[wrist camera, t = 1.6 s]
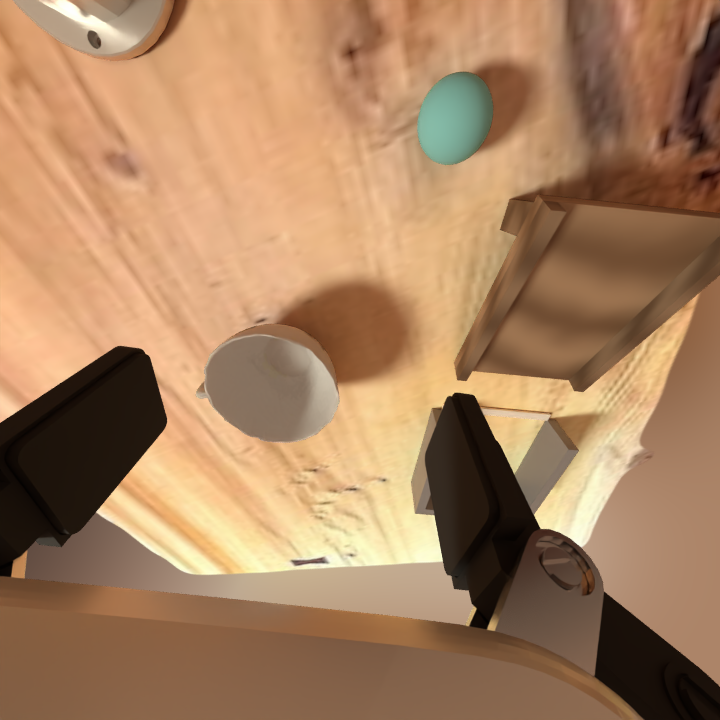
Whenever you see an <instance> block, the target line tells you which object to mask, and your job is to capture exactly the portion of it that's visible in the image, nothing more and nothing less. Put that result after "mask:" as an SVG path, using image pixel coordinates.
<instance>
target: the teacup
mask: <svg viewBox="0 0 720 720" xmlns="http://www.w3.org/2000/svg"><path fill="white" fill-rule="evenodd" d="M204 374H205V381H204V382H203V383H202V384H201V385H200V387H199V388H198V389H197V391H196V397H198V398H200V399H203V398H208V399H209V402H210V404H211V405H212V407H213V408H214V410H216V411H217V412H218V413H219V414H220V415H221V416H222V417H223V418H224V419H225V421H227V422H229V423H230V424H232V425H233V426H235V427H236V428H238V429H239V430H240V431H241V432H242V433H244V434H246V435H248V436H251V437H256V438H259V439H260V440H262V441H267V442H280V443H290V442H297V441H301V440H305V439H307V438H309V437H311V436H313V435H316V434H317V433H318V432H319V431H320V430H321V429H323V428H324V427H325V426H326V425H327V424H328V423H329V422H331V420H332V419H333V416H334V413H335V412H336V410H337V407H338V404H339V402H340V401H339V392H338V387H337V378H336V373H335V370H334V366H333V364H332V361H331V359H330V357H329V355H328V354H327V352H326V351H325V349H324V348H323V346H322V345H321V344H320V343H319V342H318V341H317V340H316V339H315V338H313V337H312V336H311V335H309V334H308V333H306V332H304V331H302V330H300V329H298V328H295V327H292V326H288V325H282V324H264V325H259V326H254V327H251V328H248V329H246V330H243V331H241V332H239V333H237V334H235V335H233V336H232V337H230V338H229V339H227V340H226V341H224V342H223V343H222V344H221V345H220V346H218V347H217V348H216V349H215V350H214V351H213V352H212V353H211V354H210V357H209V359H208V362H207V364H206V366H205V369H204Z"/></svg>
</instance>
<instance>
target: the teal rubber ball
mask: <svg viewBox="0 0 720 720" xmlns="http://www.w3.org/2000/svg"><path fill="white" fill-rule="evenodd" d="M492 118H493V102H492V97H491V93H490V91H489V89H488V87H487V85H486V84H485V82H484V81H483V80H482V79H481V78H480V77H478V76H477V75H475V74H472V73H469V72H456V73H453V74H450V75H448V76H446V77H444V78H442V79H441V80H440V81H439V82H437V83H436V84H435V85H434V86H433V87H432V89H431V90H430V91H429V93H428V94H427V96H426V97H425V99H424V101H423V104H422V106H421V109H420V112H419V117H418V138H419V142H420V144H421V147H422V149H423V151H424V152H425V154H426V155H427V156H428V157H429V158H430V159H432V160H433V161H435V162H437V163H439V164H444V165H452V164H457V163H460V162H462V161H464V160H466V159H468V158H469V157H470V156H472V155H473V154H474V153H475V152H476V151H477V150H478V149H479V148H480V146H481V145H482V143H483V142H484V140H485V138H486V137H487V135H488V132H489V130H490V127H491V123H492Z"/></svg>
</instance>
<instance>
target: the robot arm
mask: <svg viewBox="0 0 720 720" xmlns="http://www.w3.org/2000/svg"><path fill="white" fill-rule="evenodd" d="M13 1H14V3H15V4H16V5H17V6H18V7H19V8H20V9H21V10H22V11H23V12H24V13H25V14H26V15H27V16H28V17H29V18H30V19H31V20H32V21H33V22H34V23H35V24H36V25H38V26H39V27H40V28H41V29H43V30H44V31H45V32H47V33H48V34H49V35H51V36H52V37H54V38H55V39H56V40H58V41H59V42H61V43H63V44H65V45H67V46H69V47H71V48H73V49H75V50H77V51H79V52H82V53H84V54H87V55H89V56H92V57H94V58H98V59H104V60H110V61H118V60H128V59H131V58H133V57H136V56H138V55H141V54H143V53H144V52H145V51H147V50H148V49H149V48H150V47H151V46H152V45H154V44H155V43H156V41H157V40H158V38H159V37H160V35H161V34H162V33H163V31H164V30H165V28H166V25H167V23H168V20H169V18H170V15H171V12H172V10H173V5H174V0H13ZM166 424H167V417H166V413H165V410H164V406H163V402H162V399H161V395H160V392H159V388H158V384H157V381H156V377H155V374H154V370H153V366H152V363H151V359H150V357H149V356H148V355H147V354H145V352H144V351H143V350H142V349H139V348H132V347H125V346H117V347H115V348H113V349H112V350H110V351H109V352H107V353H106V354H104V355H103V356H101V357H100V358H98V359H97V360H95V361H94V362H92V363H91V364H89V365H88V366H86V367H85V368H83V369H82V370H80V371H79V372H77V373H75V374H74V375H72V376H71V377H69V378H68V379H66V380H65V381H63V382H62V383H60V384H59V385H57V386H56V387H54V388H53V389H51V390H50V391H48V392H47V393H45V394H44V395H42V396H41V397H39V398H37V399H36V400H34V401H33V402H31V403H30V404H28V405H27V406H25V407H24V408H22V409H21V410H19V411H18V412H16V413H15V414H13V415H12V416H10V417H9V418H7V419H6V420H4V421H2V422H1V423H0V720H720V687H719V686H718V684H716V683H715V682H714V681H713V680H712V679H711V678H710V677H709V676H708V675H707V674H706V673H704V672H703V671H702V670H701V669H700V668H699V667H698V666H696V665H695V664H694V663H693V662H691V661H690V660H689V659H688V658H686V657H685V656H684V655H683V654H681V653H680V652H679V651H678V650H676V649H675V648H674V647H673V646H671V645H670V644H669V643H668V642H666V641H665V640H664V639H663V638H661V637H660V636H659V635H658V634H656V633H655V632H654V631H653V630H651V629H650V628H649V627H648V626H646V625H645V624H644V623H643V622H641V621H640V620H639V619H638V618H636V617H635V616H634V615H633V614H631V613H630V612H629V611H628V610H626V609H625V608H624V607H623V606H622V605H620V604H619V603H618V602H616V601H615V600H614V599H613V598H612V597H610V596H609V595H607V593H605V592H604V588H603V581H602V578H601V576H600V573H599V571H598V569H597V567H596V566H595V564H594V563H593V561H592V560H591V558H590V557H589V556H588V555H587V554H586V552H585V551H584V550H583V549H582V548H581V547H580V546H579V545H577V544H576V543H575V542H574V541H572V540H571V539H570V538H568V537H566V536H564V535H563V534H561V533H559V532H556V531H553V530H550V529H540V527H539V525H538V523H537V521H536V519H535V516H534V514H533V512H532V510H531V508H530V506H529V504H528V502H527V500H526V498H525V496H524V494H523V492H522V489H521V487H520V485H519V483H518V481H517V479H516V477H515V475H514V473H513V471H512V469H511V467H510V464H509V462H508V460H507V458H506V456H505V454H504V452H503V450H502V448H501V446H500V444H499V443H498V441H496V440H495V438H494V436H493V434H492V431H491V429H490V427H489V425H488V423H487V421H486V419H485V417H484V414H483V412H482V410H481V408H480V406H479V404H478V402H477V400H476V398H475V396H474V395H470V394H463V393H454V394H453V396H448V397H447V399H446V401H445V403H444V406H443V409H442V411H441V414H440V416H439V419H438V421H437V424H436V427H435V429H434V432H433V434H432V437H431V439H430V442H429V444H428V447H427V450H426V453H425V467H426V472H427V477H428V483H429V488H430V493H431V499H432V504H433V510H434V515H435V520H436V526H437V531H438V537H439V542H440V547H441V553H442V558H443V563H444V568H445V571H446V573H447V575H451V576H452V581H453V586H454V589H459V590H469V593H470V598H471V602H472V604H473V605H474V607H473V609H472V611H471V613H470V616H469V618H468V620H467V622H466V624H465V625H459V624H451V623H443V622H436V621H428V620H420V619H412V618H404V617H396V616H388V615H379V614H369V613H361V612H351V611H342V610H332V609H323V608H313V607H304V606H294V605H285V604H276V603H266V602H257V601H246V600H236V599H227V598H217V597H208V596H198V595H187V594H178V593H167V592H158V591H148V590H137V589H128V588H118V587H107V586H97V585H86V584H76V583H66V582H55V581H45V580H35V579H25V578H24V577H25V567H26V557H27V549H28V548H29V547H30V546H31V545H32V544H33V543H34V542H35V541H36V542H37V543H38V544H39V545H47V546H56V547H57V546H58V547H62V546H63V545H64V543H65V542H66V541H67V540H68V539H69V538H70V536H71V535H72V534H75V533H77V532H79V531H80V530H81V529H82V528H83V527H84V526H85V525H86V523H87V522H88V521H89V520H90V518H91V517H92V516H93V515H94V514H95V513H96V511H97V510H98V509H99V508H100V507H101V505H102V504H103V503H104V502H105V500H106V499H107V498H108V497H109V496H110V494H111V493H112V492H113V491H114V490H115V488H116V487H117V486H118V485H119V484H120V482H121V481H122V480H123V479H124V478H125V476H126V475H127V474H128V473H129V471H130V470H131V469H132V468H133V467H134V465H135V464H136V463H137V462H138V461H139V459H140V458H141V457H142V456H143V455H144V453H145V452H146V451H147V450H148V449H149V447H150V446H151V445H152V444H153V442H154V441H155V440H156V439H157V438H158V436H159V435H160V434H161V433H162V432H163V430H164V429H165V427H166Z"/></svg>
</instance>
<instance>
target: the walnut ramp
mask: <svg viewBox="0 0 720 720" xmlns="http://www.w3.org/2000/svg"><path fill="white" fill-rule="evenodd" d="M500 230H502V231H505V232H508V233H510V234H513V235H515V236H517V237H516V239H515V241H514V243H513V245H512V247H511V249H510V251H509V253H508V255H507V257H506V259H505V261H504V263H503V265H502V267H501V269H500V271H499V273H498V275H497V277H496V279H495V281H494V283H493V285H492V287H491V289H490V291H489V293H488V295H487V297H486V299H485V301H484V303H483V305H482V307H481V309H480V311H479V313H478V315H477V317H476V319H475V321H474V324H473V326H472V328H471V330H470V332H469V334H468V336H467V338H466V340H465V342H464V344H463V346H462V348H461V350H460V352H459V354H458V356H457V358H456V360H455V362H454V365H455V370H456V376H457V380H461V381H467V379H468V377H469V376H470V374H471V372H472V371H478V372H488V373H499V374H509V375H520V376H531V377H541V378H552V379H563V380H569V381H570V383H571V385H572V387H573V389H574V391H579V392H584V391H585V390H586V389H587V388H588V387H590V386H591V385H592V384H593V383H594V382H595V381H597V380H598V379H599V378H600V377H601V376H602V375H604V374H605V373H606V372H607V371H608V370H609V369H611V368H612V367H613V366H614V365H615V364H616V363H618V362H619V361H620V360H621V359H622V358H623V357H625V356H626V355H627V354H628V353H629V352H631V351H632V350H633V349H634V348H635V347H636V346H638V345H639V344H640V343H641V342H642V341H643V340H645V339H646V338H647V337H648V336H649V335H650V334H652V333H653V332H654V331H655V330H656V329H657V328H659V327H660V326H661V325H662V324H663V323H664V322H666V321H667V320H668V319H669V318H670V317H671V316H673V315H674V314H675V313H676V312H677V311H678V310H680V309H681V308H682V307H683V306H684V305H685V304H687V303H688V302H689V301H690V300H691V299H692V298H694V297H695V296H696V295H697V294H698V293H699V292H701V291H702V290H703V289H704V288H705V287H706V286H707V285H709V284H710V283H711V282H712V281H713V280H715V279H716V278H717V277H718V276H719V275H720V213H714V212H704V211H694V210H684V209H675V208H665V207H655V206H645V205H636V204H626V203H616V202H606V201H597V200H587V199H577V198H567V197H558V196H548V195H537V197H536V199H535V201H534V202H533V201H523V200H513V199H510V200H509V203H508V206H507V209H506V213H505V216H504V219H503V222H502V225H501V229H500Z"/></svg>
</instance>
